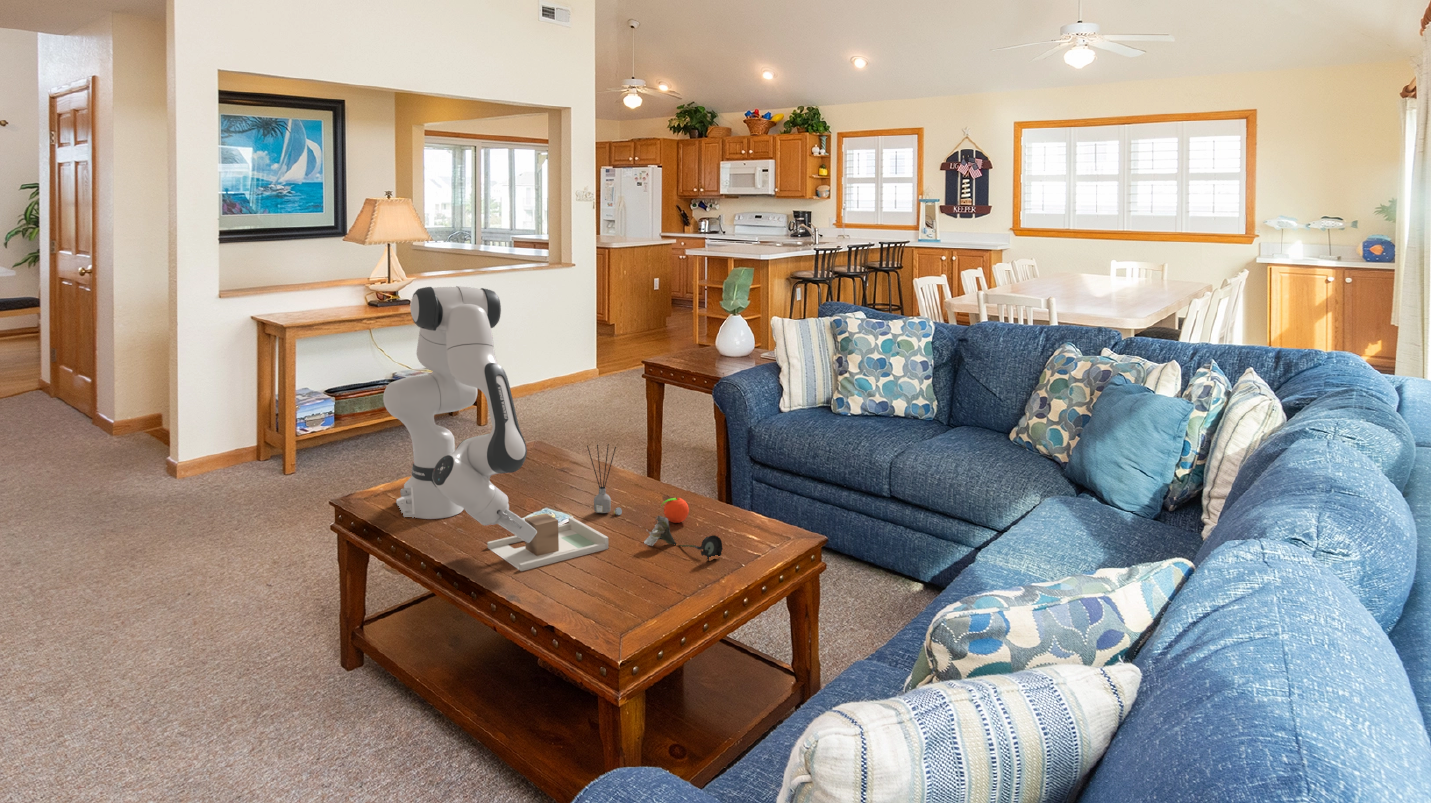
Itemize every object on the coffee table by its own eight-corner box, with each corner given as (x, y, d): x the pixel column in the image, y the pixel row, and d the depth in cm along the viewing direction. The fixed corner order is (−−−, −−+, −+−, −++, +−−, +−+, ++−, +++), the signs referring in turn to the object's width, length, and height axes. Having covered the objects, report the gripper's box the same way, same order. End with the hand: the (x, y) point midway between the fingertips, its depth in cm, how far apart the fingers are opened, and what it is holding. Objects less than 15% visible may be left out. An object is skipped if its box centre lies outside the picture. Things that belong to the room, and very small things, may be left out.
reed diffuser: (584, 514, 257) (583, 446, 253) (592, 506, 264) (591, 439, 259) (619, 517, 255) (619, 448, 251) (626, 509, 262) (626, 442, 257)
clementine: (662, 527, 248) (663, 502, 246) (657, 519, 255) (657, 494, 253) (691, 525, 250) (691, 500, 249) (685, 517, 257) (685, 492, 255)
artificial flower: (703, 572, 223) (692, 536, 220) (642, 556, 239) (631, 523, 236) (726, 553, 229) (716, 518, 225) (666, 539, 244) (655, 506, 241)
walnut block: (525, 548, 228) (524, 518, 226) (547, 543, 231) (546, 513, 229) (536, 556, 223) (536, 525, 221) (558, 550, 227) (558, 520, 225)
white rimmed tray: (487, 553, 228) (487, 536, 227) (572, 533, 243) (571, 517, 242) (521, 577, 214) (520, 559, 213) (608, 554, 229) (608, 537, 228)
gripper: (518, 507, 209) (556, 538, 217) (479, 484, 224) (517, 514, 232) (500, 529, 207) (540, 560, 215) (463, 505, 223) (501, 534, 231)
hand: (528, 536), depth 224 cm, fingers closed
